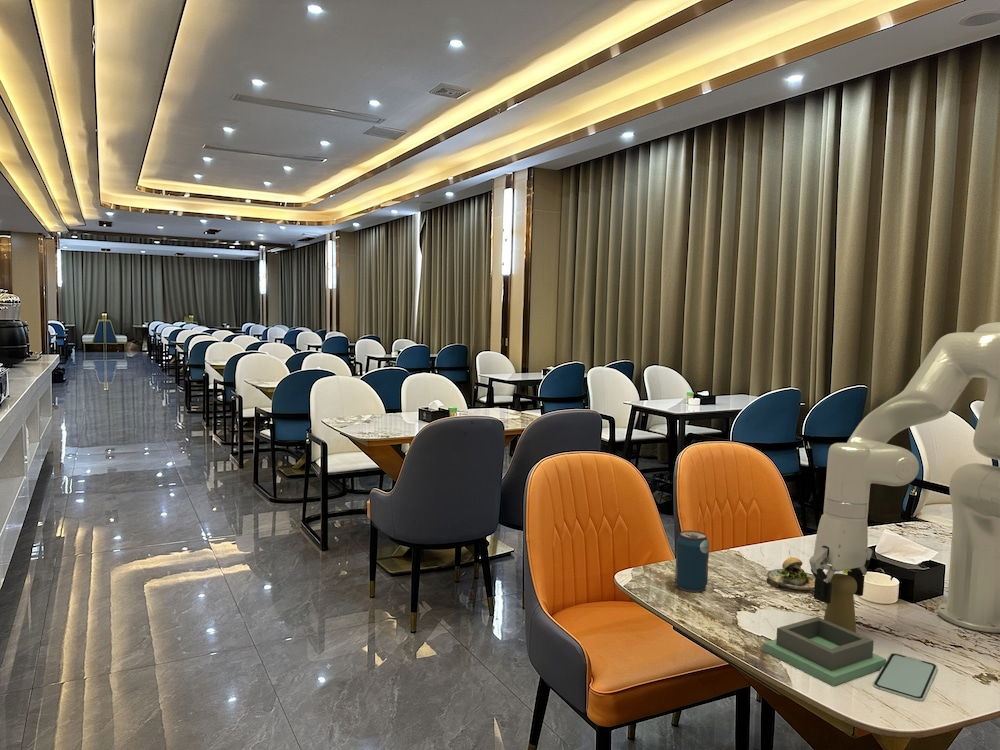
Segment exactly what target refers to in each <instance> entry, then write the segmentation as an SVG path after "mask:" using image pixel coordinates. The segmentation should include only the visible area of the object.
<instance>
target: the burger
mask: <svg viewBox="0 0 1000 750" xmlns="http://www.w3.org/2000/svg"><path fill="white" fill-rule="evenodd" d="M788 553H789V555H791V553H790V550H789V551H788ZM802 566H803V561H802V560H801V559H799V558H797V557H791V556H790V557H788V558H786V559H785V560H784V562H783V563H782V564H781V567H782V568H780V569H778V568H777V569H772V570H770V571H768V572H767V574H766V576H767V578H766V583H767V584H768V585H769V586H772V587H773V588H774V589H778V586H782V587H783V588H784V587H786V588H789V589H793V590H805V591H806V590H812V589H814V586H815V578H813V573H812V574H811V573H809V572H805V570H804V569H803V568H802Z"/></svg>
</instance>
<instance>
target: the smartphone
mask: <svg viewBox="0 0 1000 750" xmlns="http://www.w3.org/2000/svg"><path fill="white" fill-rule="evenodd" d="M937 673H938V664H936V663H934V662H930V661H926V660H924V659H920V658H915V657H911V656H908V655H904V654H900V653H895V652H892V653H891V652H890V653H889V655H888V656H887V658H886V665H884V666H883V667H882V668H881V669H880V670H879V672H878V673H877V675H876V677H875V678H874V680H873V682H872V687H874V688H875V689H877V690H880V691H884V692H886V693H889V694H892V695H895V696H896V695H897V696H899V697H903V698H906V699H908V700H909V699H910V700H913V701H915V702H924V701H925V699H926V698H927V695H928V692H929V690H930V688H931V686H932V683H933V682H934V679H935V677H936V674H937Z"/></svg>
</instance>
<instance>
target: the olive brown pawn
mask: <svg viewBox="0 0 1000 750" xmlns="http://www.w3.org/2000/svg"><path fill="white" fill-rule="evenodd" d="M830 582H831V583H832V591H831V602H830V603H829V604H826V607H825V612H824V616H823V619H824V620H826V621H829V622H831V623H833V624H836V625H838V626H841V627H843V628H845V629H848V630H850V631H853V632H855V633H857V634H858V632H857V624H856V612H855V600H854V599H855V598H854V595H855V592H856V590H857V582H856V580H855V579H854V578H853V577H851V576H849V575H847V574H845V573H838V572H837V573H834V575H833V576H832V578H831V580H830Z"/></svg>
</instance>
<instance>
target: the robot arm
mask: <svg viewBox="0 0 1000 750" xmlns="http://www.w3.org/2000/svg"><path fill="white" fill-rule="evenodd" d="M973 378H979V379H986V382H987V387H986V388H987V389H986V394H985V396H984V400H983V404H982V407H981V411H980V413H979V415H978V420H977V423H976V426H975V430H974V434H973V440H972V443H973V447H974V449H975V451H977V452H978V454H980V455H981V456H984V457H985V458H989V459H992V460H996V461H1000V321H999V322H998V321H997V322H989V323H985V324H981V325H979V326H978V327H976V328H975V330H973V332H970V331H969V332H967V331H965V332H962V331H961V332H951V333H947V334H945V335H943V336H941V337H940V338H939V339H937V341H936V343H935V344H934V345H933V346H932V348H931V350H930V351H929V353H928V354H927V355H926V357H925V358H924V360H923V361H922V363H921V364H920V366H919V367H918V369H917V370H916V372H915V374H914V375H913V376H912V377H911V379H910V381H908V384H906V386H905V387H904V389H903V390H902V391H901V392H900V393H898V394H897V395H895V396H893V397H891V398H889V399H888V400H886V401H885V402H884V403H882V404H881V405H879V406H878V407H876V408H875V409H873V410H872V411H871V412H869V413H868V414H867V415H866V416H865V417H864V418H863V419H862V420H861V421H860V422H859V423H858V425H857V426H856V427H855V430H854V431H853V432H852V434H851V435H850V437H849V438H848V439H847V442H835V443H833V444H831V445H830V447H829V448H828V453H827V462H826V463H827V464H826V477H825V478H826V479H825V490H824V500H823V501H824V502H823V514H821V517H820V519H819V523H818V526H817V531H816V539H815V544H814V551H813V555H812V556H811V557H810V558H809V564H810V572H811V573H812V575H813V578H815V586H814V588H813V589H814V590H813V598H814V599H815V600H817V601H819V602H822V603H824V604H826V605H827V604H829V603H830V602H831V591H832V583H831V582H830V580H831V578H832V576H833V575H834V574H836V573H835V572H837V573H839V572H844V571H847V574H846V575H849V576H851V577H853V578H854V579H855V580H856V582H857V590H856V592H855V594H854V595H855V596H859V597H862V596H864V587H865V576H866V575H867V572H868V570H867V569H868V567H869V565H870V560H871V557H872V555H873V549H871V547H868V543H869V541H868V539H869V537H868V535H869V534H868V532H869V531H868V530H869V529H868V518H869V517H868V516H869V515H868V514H869V504H870V503H869V502H870V492H871V490H870V489H871V484H877V485H885V486H890V487H901V486H905V485H907V484H910V483H912V482H913V481H914V480H915V479H916V477H917V476H918V474H919V471H920V464H919V460H918V458H917V457H916V456H915V454H914V453H913V452H911V451H910V450H908V449H906V448H904V447H902V446H898V445H894V444H889V443H888V442H889V441H890V440H891V439H892V438H893V437H894V436H896V435H897V434H898V433H900V432H903V431H904V430H906V429H908V428H911V427H913V426H917V425H921V424H925V423H928V422H932V421H936V420H939V419H942V418H943V417H945V416H947V415H948V414H949V413H950V411H951V409H952V408H953V406H954V405H955V403H956V402H957V400H958V399H959V397H960V396H961V395H962V394H963V392H964V390H965V389H966V387H967V386H968V384H969V382H970V381H971V380H972V379H973ZM949 479H950V480H949V487H948V489H949V496H950V498H949V499H950V503H951V509H952V529H951V531H952V533H951V542H950V544H951V545H950V558H949V559H950V561H949V572H948V587H947V588H948V589H947V601H946V602H944V603H941V604H939V605H938V607H937V614H938V616H940V617H941V618H942V619H943V620H944V621H947V622H949V623H952V624H953V625H956V626H959V627H962V628H965V629H969V630H973V631H977V632H984V633H993V634H994V633H995V634H996V633H998V634H999V633H1000V467H999V466H995V465H991V464H986V463H979V462H978V463H977V462H976V463H966V464H964V465H961V466H959V467H958V468H957V469H956V470H955V471H954V472H953V473H952V475H951V477H950V478H949ZM824 570H826V573H825V572H824Z"/></svg>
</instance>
